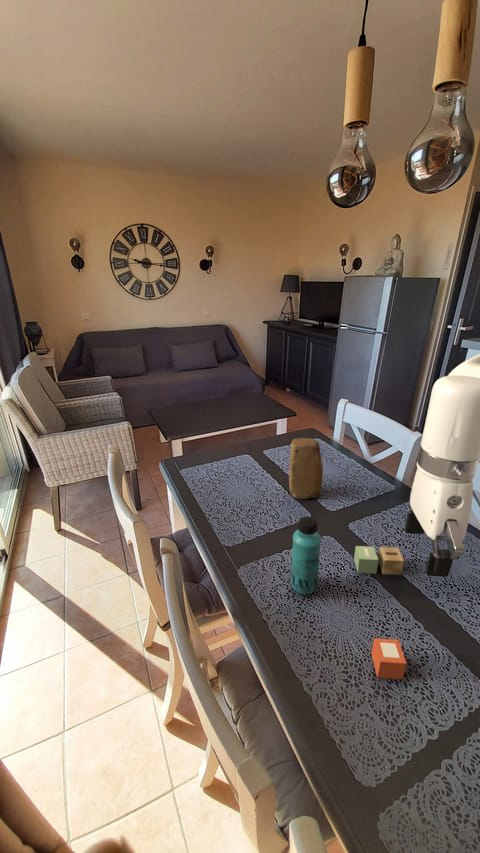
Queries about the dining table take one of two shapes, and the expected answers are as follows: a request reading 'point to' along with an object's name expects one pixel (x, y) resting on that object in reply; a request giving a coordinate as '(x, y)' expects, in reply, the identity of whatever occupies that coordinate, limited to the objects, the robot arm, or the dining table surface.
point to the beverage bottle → (305, 556)
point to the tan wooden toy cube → (390, 560)
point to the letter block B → (366, 559)
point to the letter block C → (388, 658)
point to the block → (305, 469)
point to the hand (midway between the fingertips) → (424, 552)
